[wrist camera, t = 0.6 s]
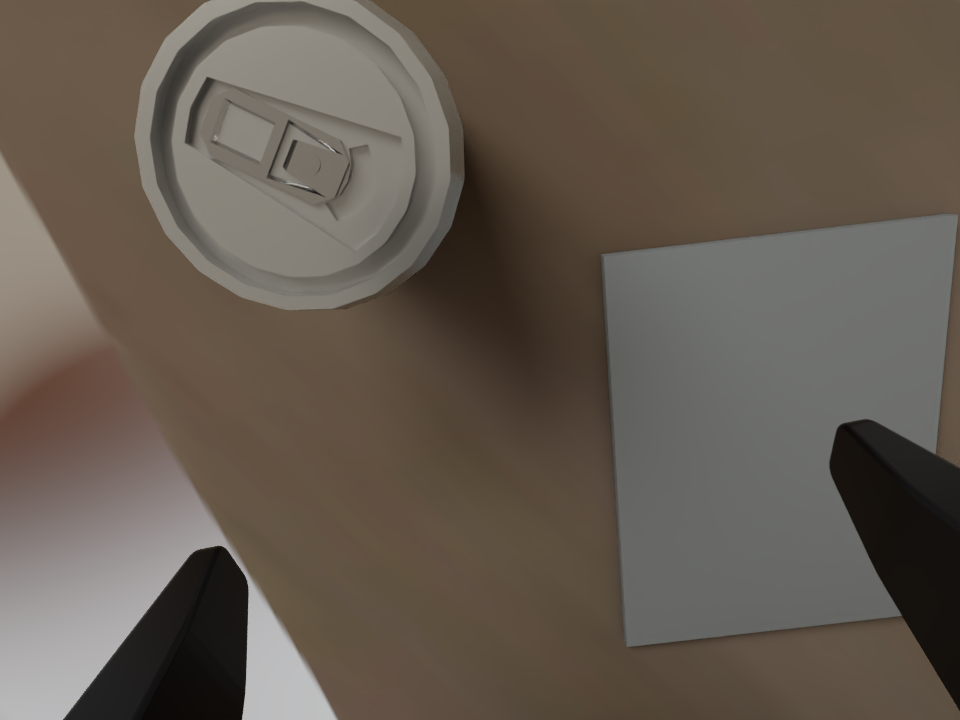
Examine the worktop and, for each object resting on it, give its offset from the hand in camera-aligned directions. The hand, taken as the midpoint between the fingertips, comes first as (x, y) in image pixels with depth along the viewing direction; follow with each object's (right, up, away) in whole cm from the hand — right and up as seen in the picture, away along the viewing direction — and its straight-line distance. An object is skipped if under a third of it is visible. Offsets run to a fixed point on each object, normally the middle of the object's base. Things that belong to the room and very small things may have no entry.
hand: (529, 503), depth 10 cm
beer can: (-4, +9, +12) cm, 16 cm away
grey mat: (+10, -1, +16) cm, 19 cm away
